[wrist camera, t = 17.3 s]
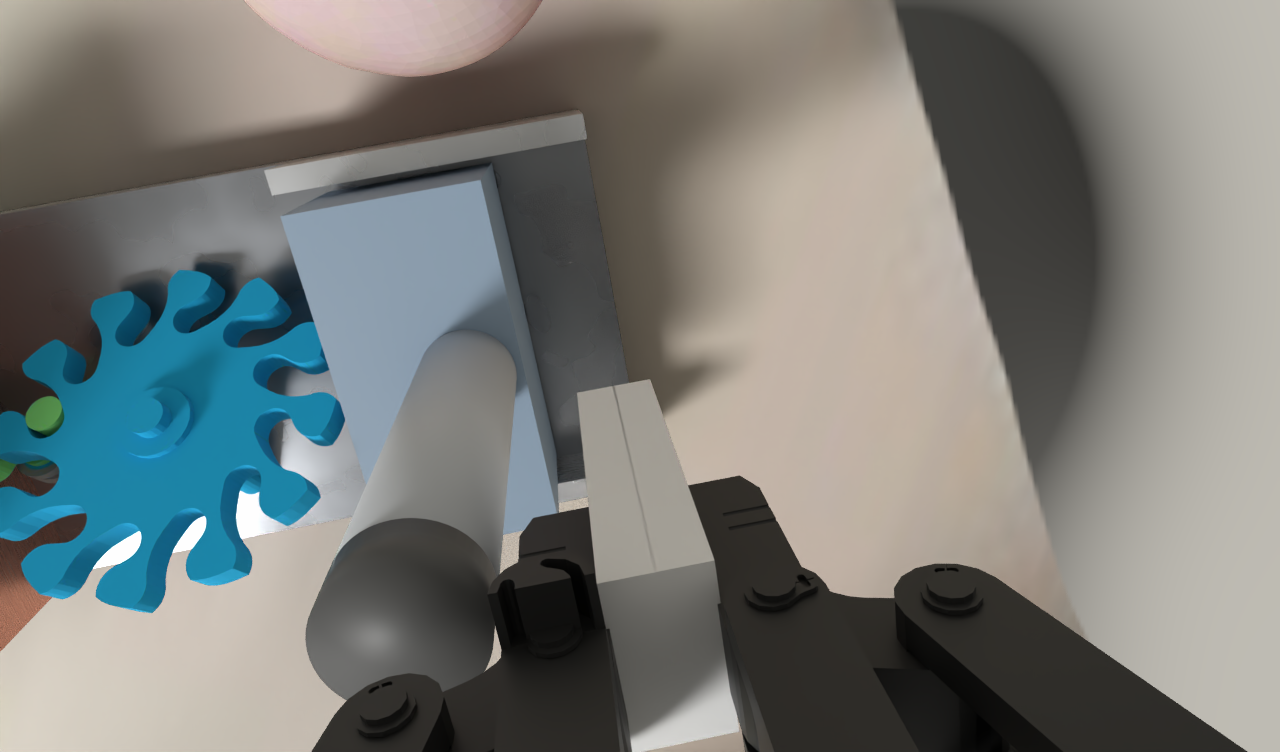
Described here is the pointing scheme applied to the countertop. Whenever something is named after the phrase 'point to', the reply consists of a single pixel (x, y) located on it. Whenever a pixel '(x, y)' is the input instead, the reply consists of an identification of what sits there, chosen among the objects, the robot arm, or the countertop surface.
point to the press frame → (301, 295)
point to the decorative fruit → (398, 31)
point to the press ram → (422, 420)
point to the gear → (161, 440)
